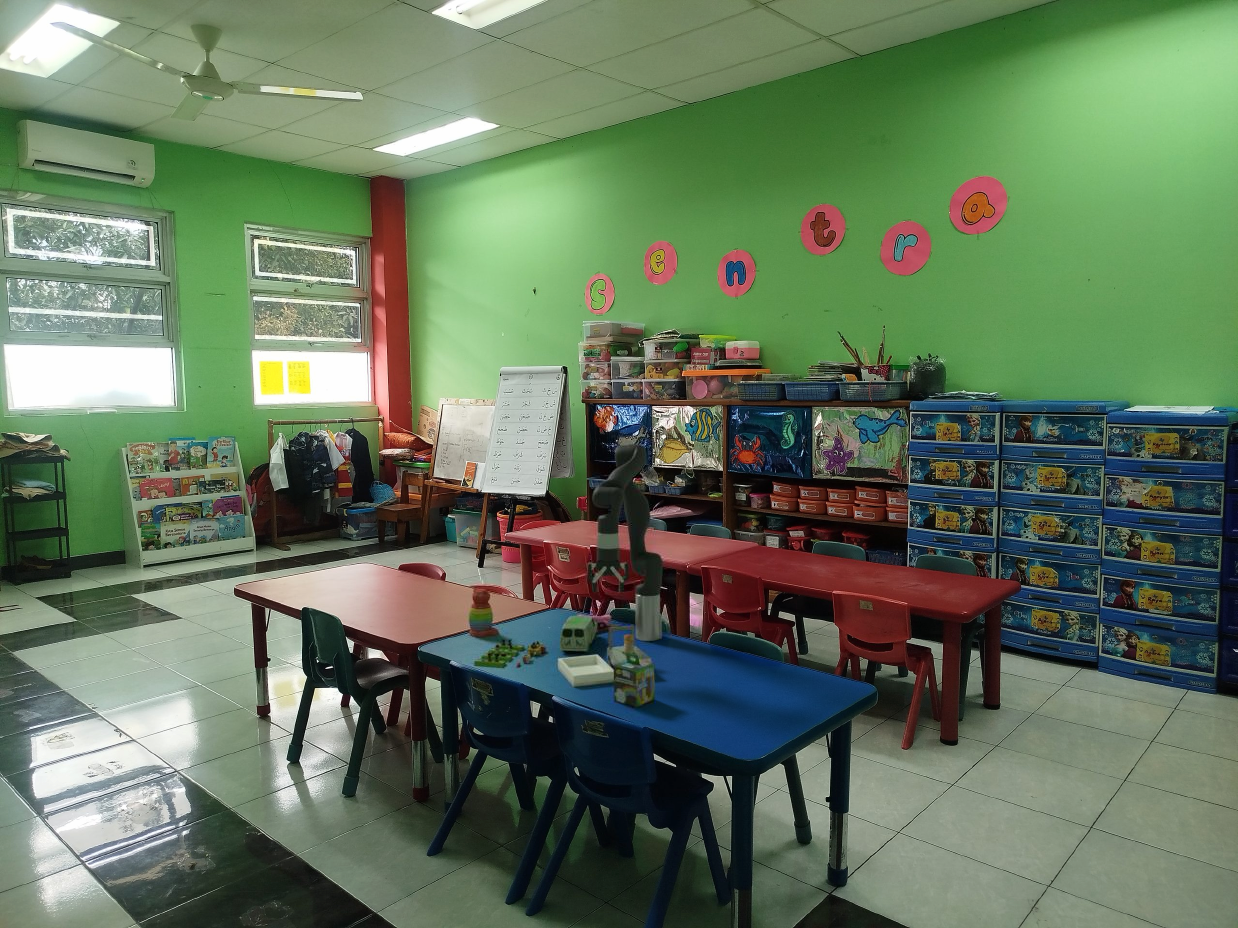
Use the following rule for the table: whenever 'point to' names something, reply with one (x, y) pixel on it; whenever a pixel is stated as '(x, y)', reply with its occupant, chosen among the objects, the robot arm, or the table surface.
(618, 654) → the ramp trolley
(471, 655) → the table surface
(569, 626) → the toy car
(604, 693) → the table surface
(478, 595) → the stacking bear
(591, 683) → the parts tray
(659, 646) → the table surface
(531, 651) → the toy garden set
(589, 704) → the table surface
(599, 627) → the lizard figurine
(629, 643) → the pin
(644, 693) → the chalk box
